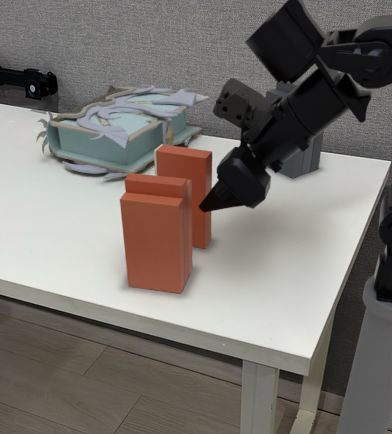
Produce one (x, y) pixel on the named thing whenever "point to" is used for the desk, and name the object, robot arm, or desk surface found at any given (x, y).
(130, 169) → the ornate book
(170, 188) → the terracotta books
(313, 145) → the grey books
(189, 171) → the terracotta book
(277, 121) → the robot arm
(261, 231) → the desk surface
